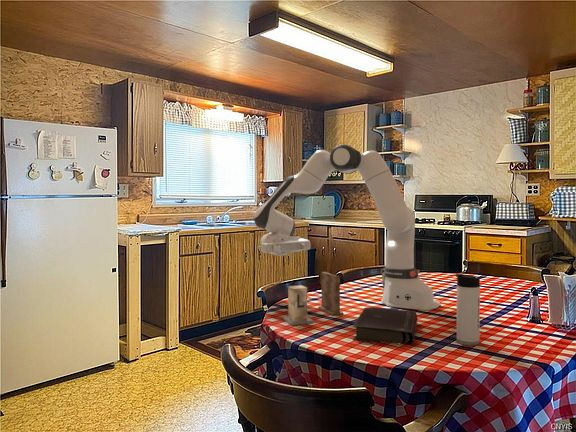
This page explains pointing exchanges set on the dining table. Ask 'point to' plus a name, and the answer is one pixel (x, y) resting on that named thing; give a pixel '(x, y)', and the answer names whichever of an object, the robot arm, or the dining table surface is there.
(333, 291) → the screen
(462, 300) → the travel mug
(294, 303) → the tan boxy piece
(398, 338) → the diary
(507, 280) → the dining table surface
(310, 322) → the slate coaster
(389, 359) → the dining table surface
